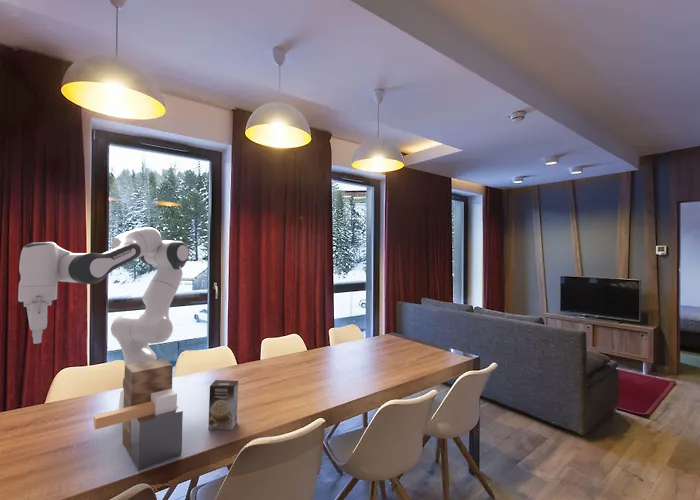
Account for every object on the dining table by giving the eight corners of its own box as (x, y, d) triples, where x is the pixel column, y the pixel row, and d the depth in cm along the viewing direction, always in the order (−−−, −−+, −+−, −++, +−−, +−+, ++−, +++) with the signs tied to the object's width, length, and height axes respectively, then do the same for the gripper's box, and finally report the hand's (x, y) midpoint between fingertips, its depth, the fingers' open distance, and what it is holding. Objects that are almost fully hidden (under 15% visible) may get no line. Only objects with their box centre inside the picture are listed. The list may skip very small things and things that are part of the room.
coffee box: (207, 430, 126) (208, 385, 126) (213, 421, 132) (214, 379, 132) (232, 430, 126) (233, 385, 126) (237, 421, 132) (238, 379, 133)
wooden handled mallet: (96, 431, 96) (96, 413, 96) (92, 424, 100) (93, 406, 100) (176, 409, 111) (176, 394, 111) (170, 403, 115) (171, 388, 115)
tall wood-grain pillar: (129, 455, 109) (132, 372, 110) (122, 442, 117) (124, 364, 117) (170, 441, 117) (172, 364, 118) (161, 430, 125) (163, 358, 126)
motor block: (138, 471, 101) (139, 422, 101) (129, 455, 109) (131, 411, 109) (181, 455, 109) (182, 410, 110) (170, 442, 117) (172, 400, 117)
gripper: (54, 297, 100) (52, 345, 99) (49, 291, 114) (48, 333, 114) (24, 298, 95) (22, 348, 95) (23, 292, 110) (22, 336, 110)
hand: (36, 340), depth 105 cm, fingers open, 8 cm apart
